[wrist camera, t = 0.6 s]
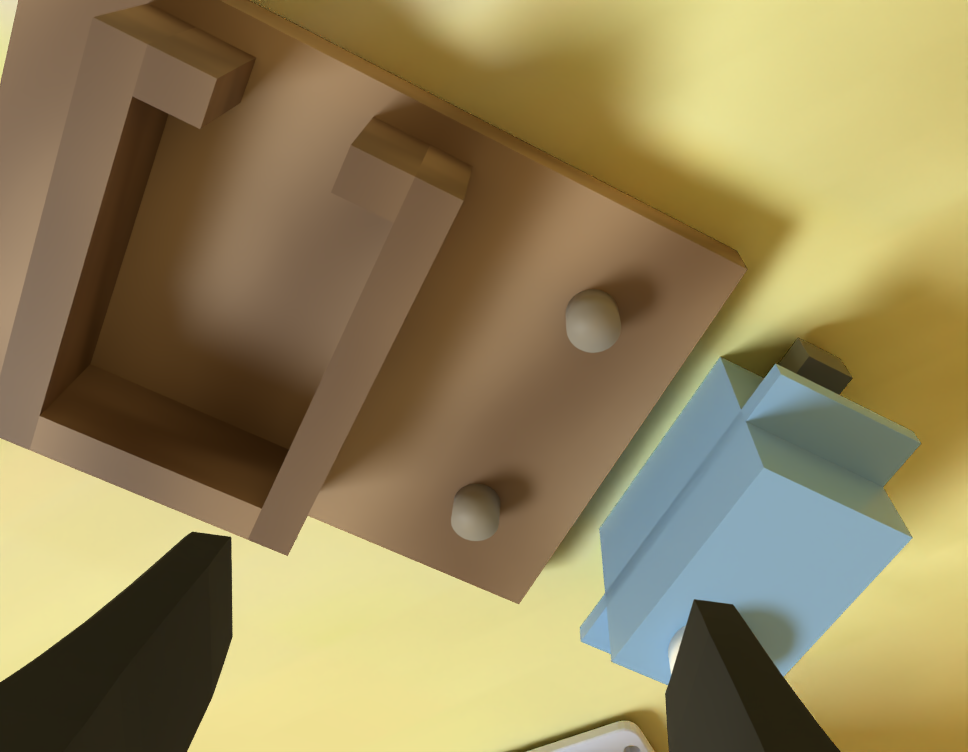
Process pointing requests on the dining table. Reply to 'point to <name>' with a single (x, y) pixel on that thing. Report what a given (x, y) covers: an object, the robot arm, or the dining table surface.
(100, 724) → the robot arm
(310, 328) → the board
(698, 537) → the block
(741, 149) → the dining table surface
